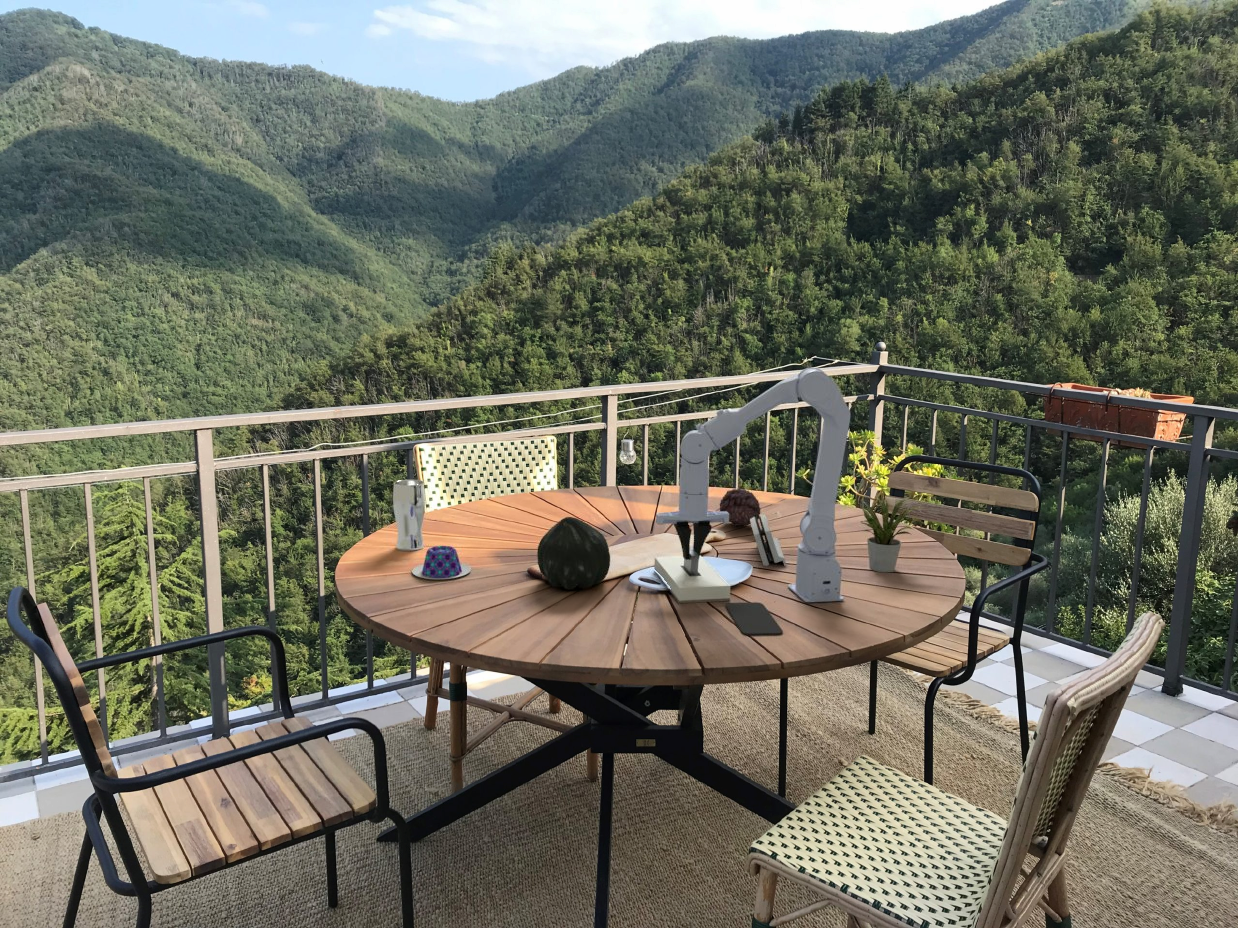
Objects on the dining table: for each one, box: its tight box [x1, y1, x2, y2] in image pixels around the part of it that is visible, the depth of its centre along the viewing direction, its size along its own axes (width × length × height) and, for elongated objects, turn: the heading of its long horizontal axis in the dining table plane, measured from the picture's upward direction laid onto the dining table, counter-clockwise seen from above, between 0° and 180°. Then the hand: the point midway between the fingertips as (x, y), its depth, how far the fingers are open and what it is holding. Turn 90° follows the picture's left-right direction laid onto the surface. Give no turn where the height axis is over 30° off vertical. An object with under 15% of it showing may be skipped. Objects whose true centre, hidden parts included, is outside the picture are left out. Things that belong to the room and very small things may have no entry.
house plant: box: [860, 496, 922, 573], centre depth 187 cm, size 14×14×16 cm
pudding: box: [411, 545, 472, 580], centre depth 179 cm, size 12×12×5 cm
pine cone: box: [719, 487, 761, 527], centre depth 219 cm, size 18×10×10 cm, turn 12°
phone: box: [724, 601, 784, 637], centre depth 156 cm, size 7×1×15 cm
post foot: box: [653, 554, 731, 604], centre depth 174 cm, size 20×10×3 cm, turn 11°
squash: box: [536, 516, 611, 591], centre depth 172 cm, size 14×15×15 cm
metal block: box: [683, 546, 699, 576], centre depth 173 cm, size 5×2×6 cm, turn 11°
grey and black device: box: [750, 514, 788, 567], centre depth 196 cm, size 17×5×10 cm, turn 175°
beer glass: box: [392, 479, 426, 552], centre depth 195 cm, size 7×7×15 cm
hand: (691, 558), depth 173 cm, fingers closed on metal block
